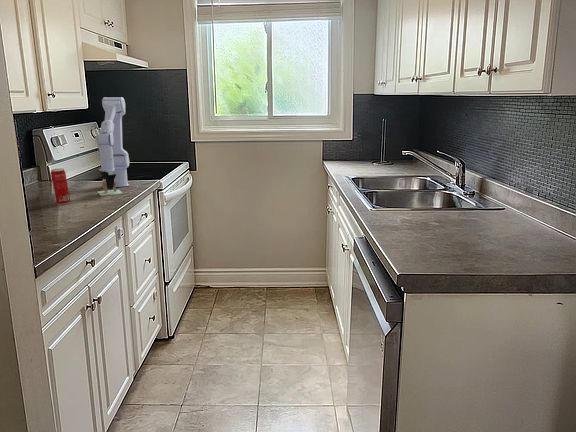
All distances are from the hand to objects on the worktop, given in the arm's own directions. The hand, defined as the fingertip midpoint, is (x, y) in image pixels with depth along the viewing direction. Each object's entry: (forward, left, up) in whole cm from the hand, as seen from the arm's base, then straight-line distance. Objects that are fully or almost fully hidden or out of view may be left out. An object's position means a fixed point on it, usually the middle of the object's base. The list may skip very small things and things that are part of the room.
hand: (109, 187), depth 235 cm
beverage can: (+13, -22, -3) cm, 26 cm away
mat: (0, 0, -3) cm, 3 cm away
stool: (0, 0, -2) cm, 2 cm away
